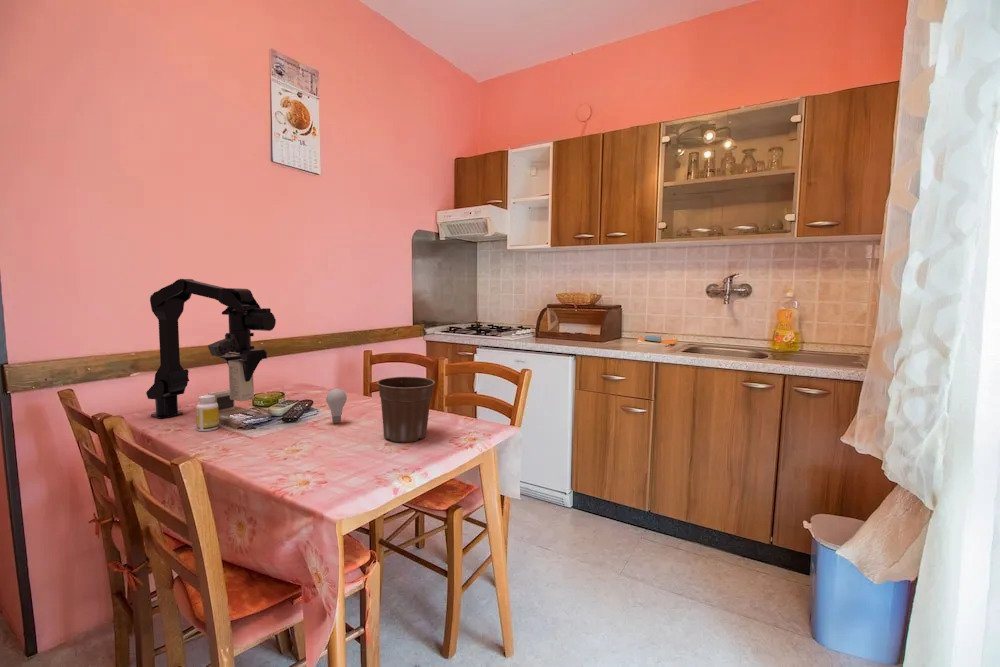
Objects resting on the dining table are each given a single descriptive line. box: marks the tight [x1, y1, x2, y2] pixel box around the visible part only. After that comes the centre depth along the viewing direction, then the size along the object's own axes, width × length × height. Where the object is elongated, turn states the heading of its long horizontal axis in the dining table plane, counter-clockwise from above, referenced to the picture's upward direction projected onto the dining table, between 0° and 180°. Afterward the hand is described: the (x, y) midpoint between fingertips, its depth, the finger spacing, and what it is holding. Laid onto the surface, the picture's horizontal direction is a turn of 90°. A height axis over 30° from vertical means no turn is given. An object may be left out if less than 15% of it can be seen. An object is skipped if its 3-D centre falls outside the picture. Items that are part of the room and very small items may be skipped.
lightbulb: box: [325, 388, 348, 424], centre depth 139 cm, size 6×6×11 cm
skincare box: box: [227, 359, 255, 403], centre depth 137 cm, size 6×4×12 cm
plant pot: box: [376, 376, 436, 443], centre depth 129 cm, size 16×16×16 cm
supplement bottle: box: [196, 394, 220, 432], centre depth 131 cm, size 5×5×10 cm
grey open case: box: [196, 389, 272, 429], centre depth 142 cm, size 23×11×8 cm, turn 60°
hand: (241, 380), depth 137 cm, fingers closed on skincare box, 6 cm apart
